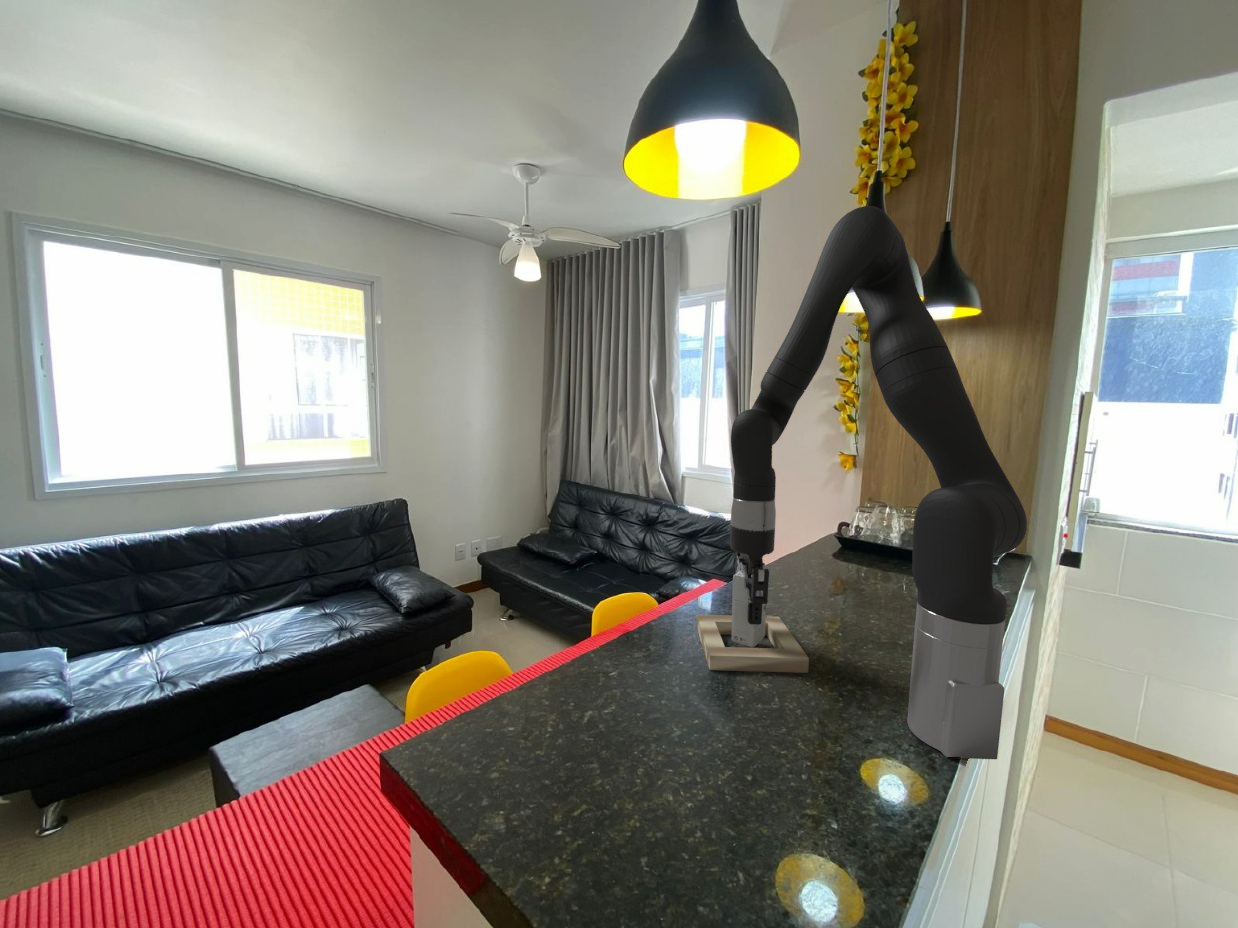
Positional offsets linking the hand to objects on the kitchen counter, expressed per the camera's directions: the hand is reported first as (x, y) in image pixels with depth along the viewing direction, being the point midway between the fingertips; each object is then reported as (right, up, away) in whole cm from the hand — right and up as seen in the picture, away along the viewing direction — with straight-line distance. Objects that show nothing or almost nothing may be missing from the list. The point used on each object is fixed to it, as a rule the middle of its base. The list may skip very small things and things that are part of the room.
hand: (748, 614), depth 85 cm
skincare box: (0, -5, 0) cm, 5 cm away
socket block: (0, -6, +1) cm, 6 cm away
